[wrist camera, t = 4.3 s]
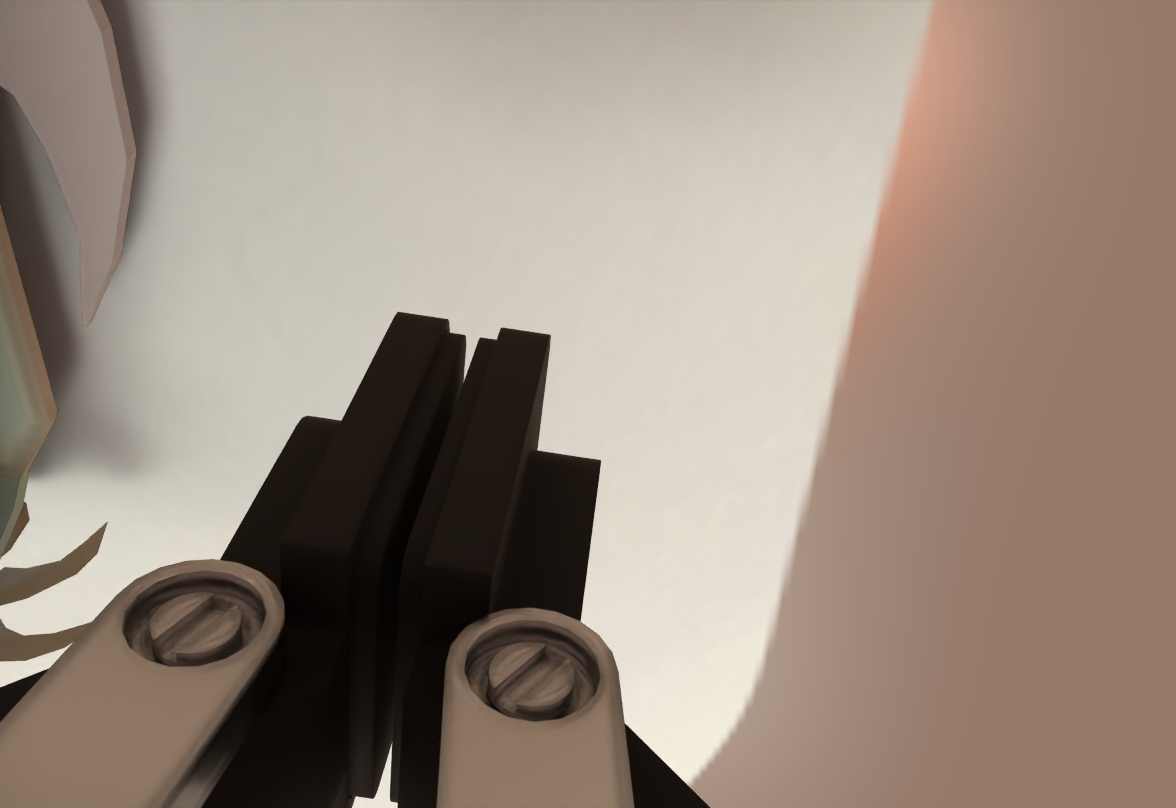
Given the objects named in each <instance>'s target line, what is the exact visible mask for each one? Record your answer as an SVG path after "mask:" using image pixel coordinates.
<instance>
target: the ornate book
mask: <svg viewBox="0 0 1176 808" xmlns="http://www.w3.org/2000/svg"><path fill="white" fill-rule="evenodd" d="M0 86H2V87H3V88H4V89H5V90H7V91H8V92H9V93H11V94H12V95H13V96H14V97H15V99H16V101H17V103H18V104H19V106H20V108H21V109H22V111H23V113H24V115H25V116H26V118H27V120H28V122H29V123H30V125H31V127H32V129H33V130H34V132H35V134H36V136H37V137H38V139H39V141H40V142H41V144H42V146H43V148H44V149H45V151H46V153H47V155H48V156H49V158H50V161H51V164H52V166H53V169H54V172H55V174H56V177H57V180H58V182H59V185H60V188H61V190H62V193H63V196H64V199H65V201H66V204H67V207H68V209H69V212H70V215H71V217H72V220H73V223H74V225H75V228H76V231H77V233H78V236H79V245H80V278H81V310H82V331H83V330H84V329H85V328H86V327H87V326H88V325H89V324H90V323H91V322H92V320H93V317H94V315H95V313H96V311H97V308H98V306H99V304H100V302H101V299H102V297H103V295H104V293H105V290H106V288H107V286H108V284H109V281H110V279H111V277H112V275H113V272H114V270H115V268H116V266H117V263H118V261H119V259H120V257H121V253H122V247H123V240H124V233H125V226H126V220H127V213H128V206H129V199H130V193H131V186H132V179H133V173H134V166H135V159H136V152H137V151H136V146H135V141H134V136H133V131H132V126H131V121H130V116H129V111H128V106H127V101H126V96H125V91H124V86H123V81H122V76H121V71H120V66H119V61H118V56H117V51H116V46H115V41H114V36H113V31H112V26H111V24H110V22H109V19H108V17H107V15H106V13H105V10H104V8H103V6H102V3H101V1H100V0H0ZM57 412H58V411H57V408H56V404H55V400H54V397H53V393H52V390H51V386H50V382H49V379H48V375H47V372H46V368H45V364H44V361H43V357H42V353H41V350H40V346H39V343H38V339H37V335H36V332H35V328H34V325H33V321H32V317H31V314H30V310H29V306H28V303H27V299H26V296H25V292H24V288H23V285H22V281H21V278H20V274H19V270H18V267H17V263H16V259H15V256H14V252H13V249H12V245H11V241H10V238H9V234H8V231H7V227H6V223H5V220H4V216H3V212H2V209H1V205H0V559H1V557H2V556H3V555H4V554H6V553H7V552H8V551H9V550H11V548H12V546H13V545H14V543H15V542H16V540H17V539H18V537H19V535H20V534H21V532H22V531H23V529H24V528H25V526H26V525H27V523H28V521H29V520H30V519H29V514H28V509H27V504H26V503H25V502H24V497H25V492H26V487H27V482H28V476H29V471H30V467H31V465H32V463H33V461H34V459H35V457H36V455H37V453H38V452H39V450H40V448H41V446H42V444H43V442H44V440H45V438H46V436H47V434H48V433H49V431H50V429H51V427H52V425H53V423H54V421H55V418H56V415H57ZM107 523H108V522H107ZM107 523H105V524H104V525H103V526H102V527H101V528H100V529H99V530H98V531H96V532H95V533H94V534H93V535H92V536H91V537H90V538H89V539H88V540H86V541H85V542H84V543H83V544H82V545H80V546H79V547H78V548H76V549H75V550H74V551H72V552H71V553H70V554H68V555H67V556H66V557H64V558H63V559H62V560H61V561H57V562H53V563H48V564H44V565H39V566H35V567H31V568H26V569H25V568H9V567H4V568H3V569H2V570H0V606H1V605H4V604H8V603H12V602H15V601H19V600H23V599H26V598H29V597H31V596H33V595H35V594H37V593H39V592H41V591H43V590H45V589H47V588H49V587H51V586H53V585H55V584H57V583H59V582H61V581H63V580H65V579H67V578H69V577H71V576H73V575H75V574H77V573H78V572H79V571H80V570H81V569H82V568H83V567H84V566H85V565H86V564H87V563H88V562H89V561H90V560H91V559H92V558H93V557H94V556H95V555H96V554H97V553H98V550H99V547H100V544H101V541H102V538H103V535H104V532H105V529H106V526H107ZM91 623H92V622H90V623H87V624H84V625H80V626H77V627H74V628H70V629H67V630H64V631H60V632H57V633H52V634H39V635H26V636H23V635H21V634H19V633H16V632H14V631H12V630H9V629H7V628H6V627H5V626H4V624H3V623H2V621H1V619H0V661H26V660H29V659H32V658H35V657H38V656H41V655H44V654H47V653H50V652H53V651H56V650H59V649H62V648H65V647H66V646H68V645H69V644H71V643H72V642H74V641H75V640H76V639H77V638H78V637H79V636H80V635H81V633H82V632H83V631H84V630H85V629H86V628H87V627H88V626H89V625H90V624H91Z"/></svg>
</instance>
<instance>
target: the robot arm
mask: <svg viewBox="0 0 1176 808" xmlns="http://www.w3.org/2000/svg"><path fill="white" fill-rule="evenodd" d="M550 339H551V335H548V334H541V333H535V332H528V331H521V330H515V329H508V328H501V329H500V332H499V335H498V338H497V340H494V339H487V338H480V339H479V341H478V344H477V347H476V349H475V352H474V355H473V358H472V361H471V364H470V366H469V369H468V372H467V375H466V378H465V381H464V383H463V380H464V366H465V353H466V336H465V335H461V334H454V333H450V328H449V321H448V319H442V318H436V317H429V316H423V315H416V314H409V313H403V312H397V314H396V315H395V317H394V319H393V321H392V323H391V324H390V326H389V328H388V330H387V332H386V334H385V336H384V338H383V340H382V342H381V344H380V346H379V348H378V350H377V352H376V354H375V356H374V358H373V360H372V362H371V364H370V366H369V368H368V370H367V372H366V374H365V376H364V378H363V380H362V382H361V383H360V385H359V387H358V389H357V391H356V393H355V395H354V397H353V399H352V401H351V403H350V405H349V407H348V409H347V411H346V413H345V415H344V417H343V419H342V421H339V420H333V419H326V418H319V417H313V416H306V417H303V418H302V419H301V420H300V422H299V423H298V424H297V426H296V427H295V429H294V431H293V433H292V434H291V436H290V438H289V440H288V441H287V443H286V445H285V447H284V448H283V450H282V452H281V454H280V455H279V457H278V459H277V461H276V462H275V464H274V466H273V468H272V469H271V471H270V473H269V475H268V477H267V478H266V480H265V482H264V484H263V485H262V487H261V489H260V491H259V492H258V494H257V496H256V498H255V499H254V501H253V503H252V505H251V506H250V508H249V510H248V512H247V513H246V515H245V517H244V519H243V520H242V522H241V524H240V526H239V527H238V529H237V531H236V533H235V534H234V536H233V538H232V540H231V542H230V543H229V545H228V547H227V549H226V550H225V552H224V554H223V556H222V557H221V559H220V560H215V559H209V560H192V561H184V562H180V563H176V564H172V565H168V566H164V567H160V568H158V569H156V570H154V571H152V572H150V573H148V574H146V575H144V576H142V577H139V578H137V579H136V580H134V581H133V582H132V583H131V584H129V585H128V586H127V587H126V588H125V589H123V590H122V591H121V592H120V593H119V594H117V595H116V596H115V597H114V599H113V600H112V601H111V602H110V603H109V604H108V605H107V606H106V607H105V608H104V609H103V611H102V612H101V613H100V614H99V615H98V616H97V617H96V618H95V619H94V620H93V621H92V623H91V624H90V625H89V626H88V627H87V628H86V629H85V630H84V631H83V632H82V633H81V635H80V636H79V637H78V638H77V639H76V640H75V641H74V642H73V643H72V644H71V645H70V647H69V648H68V649H67V650H66V651H65V652H64V653H63V654H62V655H61V656H60V657H59V659H58V660H57V661H56V662H55V663H54V664H53V665H52V666H51V667H50V668H49V669H47V670H44V671H41V672H39V673H36V674H34V675H31V676H29V677H26V678H23V679H21V680H18V681H16V682H13V683H11V684H8V685H5V686H3V687H0V808H352V806H353V802H354V799H355V796H358V797H365V798H371V799H373V798H374V797H375V795H376V793H377V790H378V787H379V784H380V781H381V777H382V774H383V771H384V767H385V764H386V761H387V757H388V754H389V750H390V747H391V744H392V761H391V784H390V800H391V802H397V803H398V808H710V807H709V806H708V805H707V804H706V803H705V802H704V801H703V800H702V799H701V798H700V797H699V796H698V795H697V794H696V793H695V792H694V791H693V790H692V789H691V788H690V787H689V786H688V785H687V784H686V783H685V782H684V781H683V780H682V779H681V778H680V777H679V776H678V775H677V774H676V773H675V772H674V771H673V770H672V769H671V768H670V767H669V766H668V765H667V764H666V763H665V762H664V761H663V760H662V759H661V758H659V757H658V756H657V755H656V754H655V753H654V752H653V751H652V750H651V749H650V748H649V747H648V746H647V745H646V744H645V743H644V742H643V741H642V740H641V739H640V738H639V737H638V736H637V735H636V734H635V733H634V732H633V731H632V730H631V729H630V728H629V727H628V726H627V725H626V724H625V723H624V715H623V707H622V698H621V689H620V681H619V672H618V669H617V666H616V663H615V660H614V656H613V653H612V651H611V650H610V649H609V647H608V646H607V645H606V644H605V642H604V641H603V640H602V638H601V637H600V636H599V635H598V634H597V633H596V632H594V631H593V630H591V629H590V628H589V627H587V626H586V625H584V624H583V623H582V622H580V621H581V613H582V606H583V598H584V590H585V582H586V575H587V567H588V559H589V551H590V544H591V536H592V528H593V520H594V513H595V505H596V497H597V489H598V482H599V474H600V466H601V460H596V459H589V458H582V457H576V456H569V455H563V454H556V453H550V452H543V451H537V448H538V440H539V432H540V424H541V415H542V407H543V399H544V391H545V383H546V375H547V367H548V359H549V350H550Z"/></svg>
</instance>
